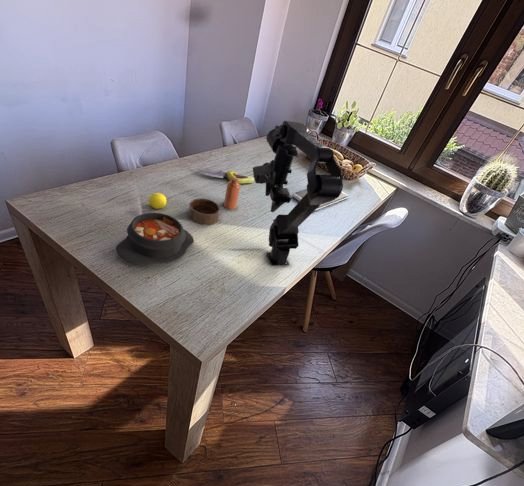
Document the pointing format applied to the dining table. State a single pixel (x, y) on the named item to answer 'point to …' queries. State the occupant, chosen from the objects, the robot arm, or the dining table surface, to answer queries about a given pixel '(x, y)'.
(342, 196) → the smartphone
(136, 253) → the casserole
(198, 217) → the bowl
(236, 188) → the bottle
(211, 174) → the knife
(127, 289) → the dining table surface
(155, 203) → the lemon
